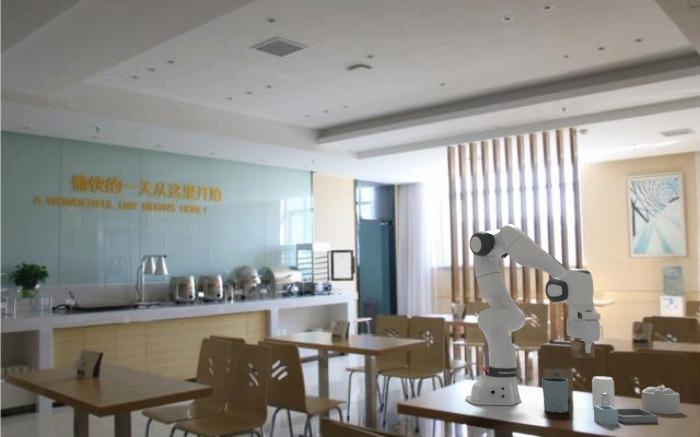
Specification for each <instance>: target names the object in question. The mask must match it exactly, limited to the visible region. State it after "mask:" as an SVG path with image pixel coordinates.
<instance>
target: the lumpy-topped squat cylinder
mask: <svg viewBox="0 0 700 437" xmlns="http://www.w3.org/2000/svg"><path fill="white" fill-rule="evenodd" d="M680 399H681V398H680V393H679V392H677V391H675V390H673V389H672V388H669V387H663V386H657V387H655V386H648V387H646V388H644V389H642V391H641V403H642V404H641V406H642V407H641V409H643V410H645V411H647V412H650V413H652V414H654V413H656V414H663V415H665V414H666V415H675V414H681V402H680V401H681V400H680Z"/></svg>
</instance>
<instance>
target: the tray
mask: <svg viewBox="0 0 700 437" xmlns="http://www.w3.org/2000/svg"><path fill="white" fill-rule="evenodd" d="M617 409H618V423H621V424H623V425H625V424H626V425H628V424H631V423H636V424H658V423H659V420H658V419H659V416H658V415H656V414H654V413H653V412H647V411H645V410H643V409H642V408H640V407H638V408H636V407H635V408H617Z"/></svg>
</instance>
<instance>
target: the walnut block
mask: <svg viewBox="0 0 700 437" xmlns="http://www.w3.org/2000/svg"><path fill="white" fill-rule="evenodd" d="M584 348H585V340H582V339H580V340H570V349H571V351H570V352H571V353H570V354H571V356H572V357H575V358H577V359H592V358H594V359H595V357H596V356H595V354H596V353H595V342H592V345H591V352H590V353H585V352H584Z"/></svg>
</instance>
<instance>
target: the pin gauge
mask: <svg viewBox="0 0 700 437" xmlns="http://www.w3.org/2000/svg"><path fill="white" fill-rule="evenodd" d="M601 396H602V409H610V404H609V393H601Z"/></svg>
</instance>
